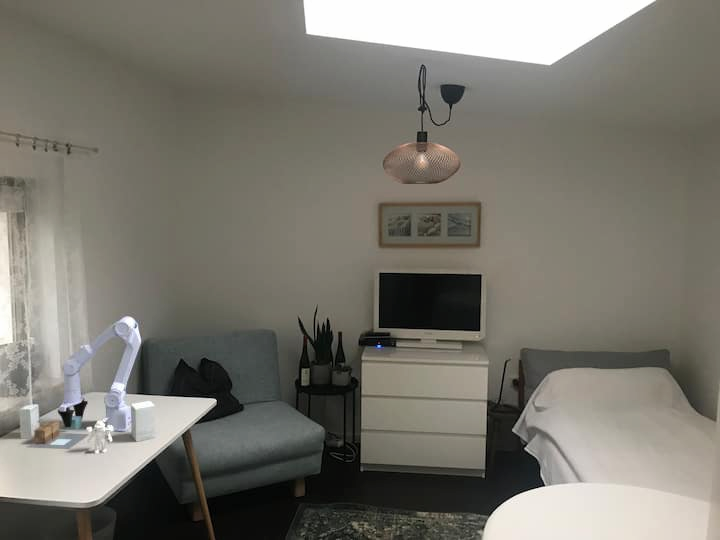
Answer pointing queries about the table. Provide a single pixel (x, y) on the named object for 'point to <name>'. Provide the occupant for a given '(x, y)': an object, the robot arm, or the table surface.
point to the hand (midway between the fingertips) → (73, 423)
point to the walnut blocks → (46, 432)
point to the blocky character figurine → (100, 435)
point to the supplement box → (143, 421)
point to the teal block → (75, 423)
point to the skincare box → (29, 420)
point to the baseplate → (61, 441)
